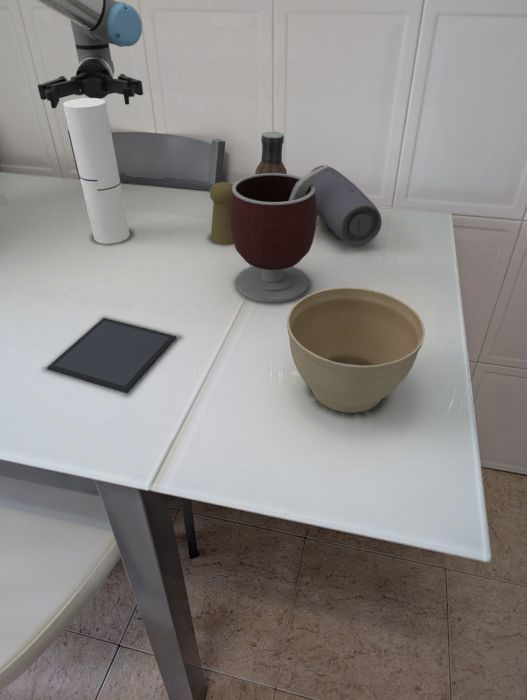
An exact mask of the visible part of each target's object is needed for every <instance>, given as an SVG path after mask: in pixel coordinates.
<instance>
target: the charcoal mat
mask: <svg viewBox="0 0 527 700" xmlns="http://www.w3.org/2000/svg"><path fill="white" fill-rule="evenodd" d="M176 338H177V336H176V335H172V334H169V333H164V332H160V331H157V330H154V329H150V328H145V327H141V326H137V325H133V324H131V323H126V322H122V321H117V320H113V319H110V318H106V317H103V318H101V319H100V320H99V321H98V322H97V323H96V324H95V325H94V326H92V327H91V328H90V329H89V330H88V331H87V332H85V334H83V335H82V336H81V337H79V339H78V340H76V341H75V342H74V343H73V344H72V345H71V346H70V347H68V348H67V349H66V350H65V351H64V352H62V354H60V356H58V357H57V358H56V359H55V360H54V361H53V362H51V363H50V364H49V365H48V366H46V368H47V370H50V371H53V372H56V373H59V374H64V375H66V376H69V377H73V378H76V379H79V380H82V381H86V382H89V383H93V384H96V385H100V386H103V387H106V388H109V389H112V390H115V391H119V392H123V393H126V394H127V393H128V392H130V390H131V389H132V388H133V387H134V386H135V384H137V382H138V381H139V380H140V379H141V378H142V377H143V375H145V373H146V372H147V371H148V370H149V369H150V368H151V367H152V365H153V364H154V363H155V362H156V361H157V360H158V359H159V358H160V356H161V355H163V353H164V352H165V351H166V350H167V349H168V348H169V346H170V345H171V344H172V343H173V342H174V341H175V340H176Z"/></svg>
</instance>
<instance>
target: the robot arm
mask: <svg viewBox="0 0 527 700" xmlns="http://www.w3.org/2000/svg"><path fill="white" fill-rule="evenodd" d="M35 1H36V2H38V3H40V4H41V5H43V6H45V7H46V8H48V9H50V10H52V11H54V12H55V13H57V14H59V15H61V16H63V17H64V18H66V19H68V20H69V21H70V26H71V30H72V35H73V39H74V44H75V45H74V46H75V50H76V55H77V60H78V67H77V69H76V72H75V75H74V76H71V77H70V79H68V78H67V77H66V76H63V75H60V76H59V77H58V78H55V79H52V80H49V81H46V82H43V83H40V84H38V85H37V90H38V94H39V98H40V100H43V101H45V100H46V101H48V102H50V106H51V109H57V107H58V104H59V103H60V99H62V98H67V97H69V96H73V95H74V96H83V95H84V96H86V98H98V99H104V98H106V97H107V96H109V95H112V94H118V95H123V100H124V104H125V105H126V106H127V105H130V98H135V96H136V95H137V96H143V95H144V89H143V81H142V80H140V79H136V78H134V77H131V76H127V75H126V74H125V73H121V74H119V75H118V76H117V78H114V74H115V67H114V66H115V65H114V61H113V60H112V53H111V49H110V44H111V45H114V46H117V47H119V48H120V47H121V48H122V47H132V46H134V45H136V44H137V43H138V42H139V40H140V39H141V36H142V32H143V23H142V19H141V16H140V14H139V12H138V11H137V10H136V8H134V7H133V6H132V5H130V4H129V3H128V4H127V3H126V2H122V1H117V0H35Z"/></svg>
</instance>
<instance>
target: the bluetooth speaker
mask: <svg viewBox="0 0 527 700" xmlns="http://www.w3.org/2000/svg"><path fill="white" fill-rule="evenodd" d="M324 166H325V165H319V166H316V167H314V168H313V169H312V170H311V171H310V172H312V171H314V170H317V169H319V168H321V167H324ZM328 167H329V171H326V172H324V173H322V174H321V175H319V176H318V177H317V178H316V179H315V180H314V181H313V183H312V184H313V185H314V186H315V196H316V205H317V216H318V217H319V218H320V219H321V221H322V222H323V223H324V224H325V225H326V226H327V227H328V228H329V229H330V230H331V231H332V233H333V234H334V235H335V236H336V237H338V238H339V239H340V240H342V241H343V242H344V243H346V244H347V245H349V246H351V247H360V246H365V245H367V244H369V243H371V242H372V241H374V239H375V238H377V236H378V235H379V233H380V231H381V229H382V225H383V223H382V222H383V221H382V216H381V212H380V211H379V210H378V208H377V207H376V205H375V204H374V203H373V202H372V201H371V199H370V198H369V197H368V196H367V195H366V194H365V193H364V192H363V191H362V190H361V188H359V187H358V186H356V184H354V182H352V181H351V180H350V179H348V177H346V176H345V175H343V173H342V172H339V170H337V169H335V168H334V167H331V166H329V165H328Z"/></svg>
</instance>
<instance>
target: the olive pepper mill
mask: <svg viewBox="0 0 527 700" xmlns="http://www.w3.org/2000/svg"><path fill="white" fill-rule="evenodd" d="M233 184H234V183H231V182H228V181H220V182H215V183H214V184H212V186H211V187H210V190H209V196H210V199H211V201H212V216H211V217H212V218H211V229H210V231H211V233H210V240H211V241H212V242H213V243H215V244H218V245H219V244H220V245H231V244H234V242H233V239H232V234H231V229H230V201H231V195H232V186H233Z"/></svg>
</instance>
